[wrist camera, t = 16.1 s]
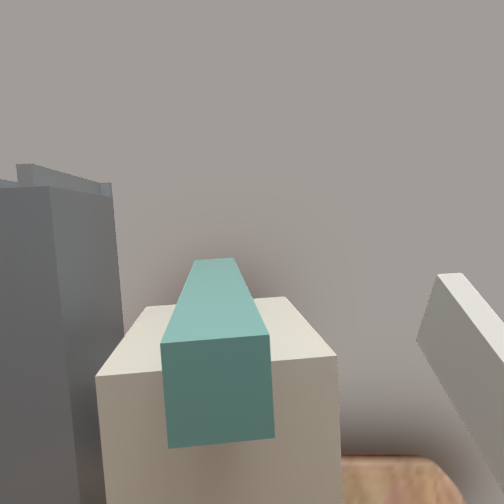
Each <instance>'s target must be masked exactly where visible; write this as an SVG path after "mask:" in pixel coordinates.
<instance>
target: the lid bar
mask: <svg viewBox="0 0 504 504" xmlns="http://www.w3.org/2000/svg"><path fill="white" fill-rule="evenodd" d="M160 351H161V364H162V376H163V389H164V402H165V415H166V428H167V440H168V449H172V448H182V447H191V446H201V445H211V444H221V443H231V442H241V441H251V440H261V439H270V438H275V426H274V408H273V389H272V371H271V353H270V335H269V332H268V330H267V328H266V326H265V324H264V322H263V320H262V317H261V315H260V313H259V311H258V309H257V307H256V305H255V303H254V300H253V298H252V296H251V294H250V292H249V290H248V288H247V286H246V284H245V281H244V279H243V277H242V275H241V273H240V271H239V268H238V266H237V264H236V262H235V260H234V258H221V259H206V260H195V261H194V264H193V266H192V268H191V271H190V273H189V276H188V278H187V280H186V283H185V285H184V287H183V290H182V292H181V295H180V297H179V299H178V302H177V304H176V306H175V309H174V311H173V314H172V316H171V318H170V321H169V323H168V325H167V328H166V330H165V333H164V335H163V337H162V340H161V342H160Z"/></svg>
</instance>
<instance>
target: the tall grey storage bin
mask: <svg viewBox="0 0 504 504" xmlns="http://www.w3.org/2000/svg"><path fill="white" fill-rule="evenodd" d="M16 168H17V178H18V182H13V181H7V180H1V179H0V504H107V502H106V491H105V480H104V470H103V459H102V448H101V437H100V426H99V416H98V405H97V394H96V383H95V376H96V374H97V373H98V372H99V370H100V369H101V368H102V366H103V365H104V363H105V362H106V361H107V359H108V358H109V357H110V355H111V354H112V353H113V351H114V350H115V349H116V347H117V346H118V344H119V343H120V342H121V340H122V339H123V338H124V326H123V314H122V302H121V292H120V279H119V267H118V256H117V245H116V232H115V222H114V221H115V220H114V209H113V197H112V185H111V183H97V182H94V181H91V180H87V179H84V178H80V177H76V176H73V175H70V174H66V173H63V172H59V171H55V170H52V169H49V168H45V167H42V166H38V165H35V164H17V165H16Z"/></svg>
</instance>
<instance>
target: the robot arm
mask: <svg viewBox="0 0 504 504" xmlns="http://www.w3.org/2000/svg"><path fill="white" fill-rule="evenodd" d="M416 341H417V343H418V345H419V346H420V348H421V350H422V352H423V353H424V355H425V357H426V359H427V360H428V362H429V364H430V366H431V367H432V369H433V371H434V373H435V374H436V376H437V378H438V380H439V381H440V383H441V385H442V386H443V388H444V390H445V392H446V394H447V395H448V397H449V399H450V400H451V402H452V404H453V406H454V407H455V409H456V411H457V413H458V414H459V416H460V418H461V420H462V421H463V423H464V425H465V427H466V428H467V430H468V432H469V433H470V435H471V437H472V439H473V440H474V442H475V444H476V446H477V447H478V449H479V451H480V453H481V454H482V456H483V458H484V460H485V461H486V463H487V465H488V467H489V468H490V470H491V472H492V474H493V475H494V477H495V479H496V480H497V482H498V484H499V486H500V488H501V489H502V491H503V493H504V323H503V322H502V320H501V319H500V318H499V317H498V316H497V314H496V313H495V312H494V311H493V310H492V308H491V307H490V306H489V305H488V304H487V302H486V301H485V300H484V299H483V298H482V297H481V295H480V294H479V293H478V292H477V291H476V289H475V288H474V287H473V286H472V284H471V283H470V282H469V281H468V280H467V278H466V277H465V276H464V275H463V274H462V273H451V274H437V276H436V279H435V282H434V285H433V288H432V292H431V295H430V298H429V301H428V304H427V307H426V310H425V313H424V317H423V320H422V323H421V326H420V329H419V332H418V335H417V338H416Z"/></svg>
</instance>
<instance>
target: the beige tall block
mask: <svg viewBox="0 0 504 504" xmlns="http://www.w3.org/2000/svg"><path fill="white" fill-rule="evenodd" d="M253 300H254V303H255V305H256V307H257V309H258V311H259V313H260V315H261V317H262V320H263V322H264V324H265V326H266V328H267V330H268V332H269V335H270V353H271V371H272V389H273V408H274V426H275V438H270V439H261V440H251V441H241V442H231V443H221V444H211V445H201V446H191V447H182V448H172V449H168V440H167V428H166V415H165V402H164V389H163V376H162V364H161V351H160V342H161V340H162V337H163V335H164V333H165V330H166V328H167V325H168V323H169V321H170V318H171V316H172V314H173V311H174V309H175V306H176V305H164V306H151V307H146V308H145V309H144V311H143V312H142V313H141V315H140V316H139V318H138V319H137V320H136V322H135V323H134V324H133V326H132V327H131V328H130V330H129V331H128V332H127V334H126V335H125V336H124V338H123V339H122V340H121V342H120V343H119V344H118V346H117V347H116V349H115V350H114V351H113V353H112V354H111V355H110V357H109V358H108V359H107V361H106V362H105V363H104V365H103V366H102V368H101V369H100V370H99V372H98V373H97V374H96V376H95V383H96V394H97V405H98V416H99V426H100V437H101V448H102V459H103V470H104V480H105V491H106V502H107V504H343V492H342V467H341V444H340V443H341V442H340V421H339V420H340V418H339V394H338V368H337V355H336V354H335V353H334V352H333V351H332V349H331V348H330V347H329V346H328V345H327V344H326V343H325V341H324V340H323V339H322V338H321V337H320V336H319V335H318V333H317V332H316V331H315V330H314V329H313V328H312V327H311V325H310V324H309V323H308V322H307V321H306V320H305V319H304V318H303V316H302V315H301V314H300V313H299V312H298V311H297V310H296V309H295V307H294V306H293V305H292V304H291V303H290V302H289V300H288V299H287V298H286V297H273V298H258V299H253Z"/></svg>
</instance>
